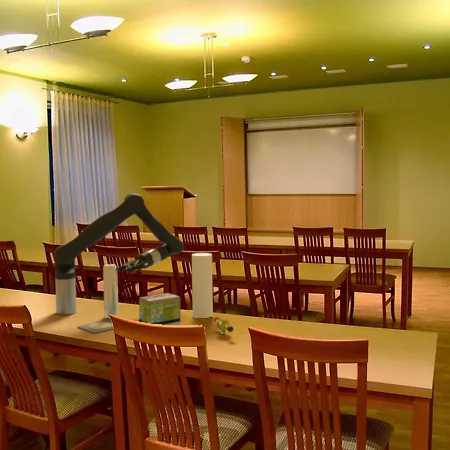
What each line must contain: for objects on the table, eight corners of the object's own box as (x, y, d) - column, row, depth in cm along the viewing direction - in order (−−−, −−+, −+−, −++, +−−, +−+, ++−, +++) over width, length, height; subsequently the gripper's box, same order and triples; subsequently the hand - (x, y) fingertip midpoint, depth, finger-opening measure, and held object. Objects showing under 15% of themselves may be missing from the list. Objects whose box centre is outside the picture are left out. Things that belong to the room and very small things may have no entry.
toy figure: (209, 329, 219) (209, 313, 218) (221, 327, 221) (221, 312, 220) (224, 341, 202) (224, 324, 201) (237, 339, 204) (237, 322, 203)
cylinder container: (215, 317, 237) (214, 254, 235) (196, 319, 234) (195, 255, 232) (208, 313, 246) (207, 251, 244) (190, 315, 243) (189, 252, 240)
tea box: (151, 336, 209) (150, 301, 208) (138, 331, 217) (138, 297, 216) (181, 329, 219) (180, 295, 218) (168, 324, 226) (167, 292, 225)
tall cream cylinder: (115, 319, 236) (113, 266, 234) (102, 318, 237) (100, 265, 235) (120, 315, 242) (119, 263, 241) (107, 315, 244) (106, 263, 242)
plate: (77, 327, 223) (77, 325, 223) (105, 321, 233) (105, 319, 233) (94, 333, 213) (94, 332, 213) (122, 327, 223) (122, 325, 223)
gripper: (139, 251, 258) (112, 262, 247) (155, 251, 247) (128, 263, 237) (143, 265, 259) (116, 277, 248) (159, 266, 249) (133, 278, 238)
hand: (122, 270), depth 243 cm, fingers open, 8 cm apart
